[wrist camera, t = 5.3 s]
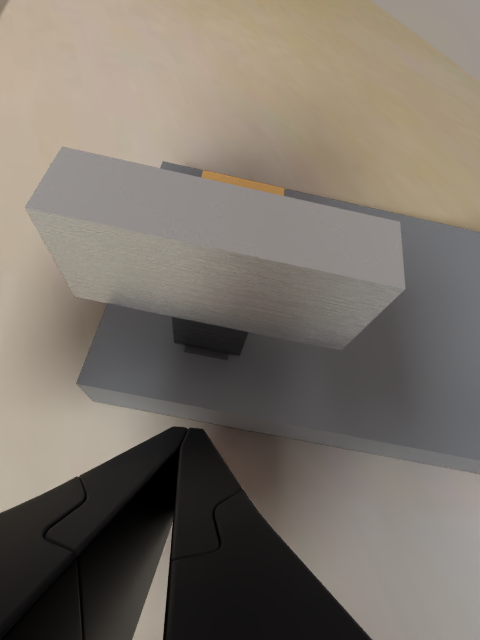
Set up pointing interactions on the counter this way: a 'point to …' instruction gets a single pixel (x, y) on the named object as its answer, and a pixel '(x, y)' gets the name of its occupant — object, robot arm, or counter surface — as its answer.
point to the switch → (215, 253)
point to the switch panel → (325, 361)
